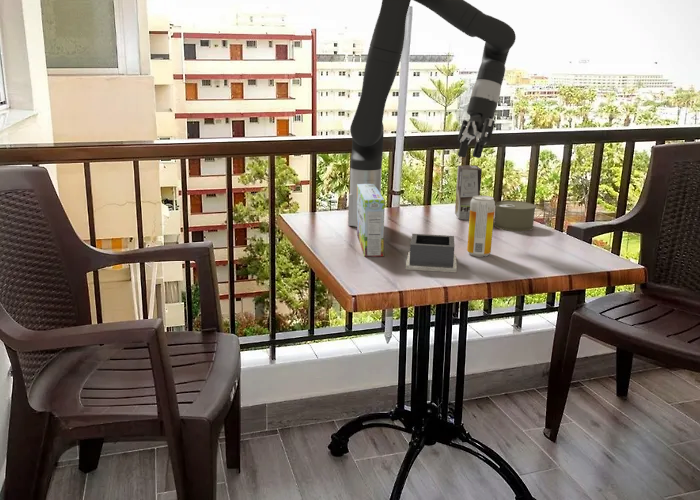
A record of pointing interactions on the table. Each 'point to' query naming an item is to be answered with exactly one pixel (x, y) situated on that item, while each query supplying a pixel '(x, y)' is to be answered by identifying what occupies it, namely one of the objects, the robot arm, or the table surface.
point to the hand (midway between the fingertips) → (468, 157)
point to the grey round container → (514, 215)
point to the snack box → (370, 220)
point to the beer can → (480, 225)
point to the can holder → (431, 253)
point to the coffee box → (467, 189)
